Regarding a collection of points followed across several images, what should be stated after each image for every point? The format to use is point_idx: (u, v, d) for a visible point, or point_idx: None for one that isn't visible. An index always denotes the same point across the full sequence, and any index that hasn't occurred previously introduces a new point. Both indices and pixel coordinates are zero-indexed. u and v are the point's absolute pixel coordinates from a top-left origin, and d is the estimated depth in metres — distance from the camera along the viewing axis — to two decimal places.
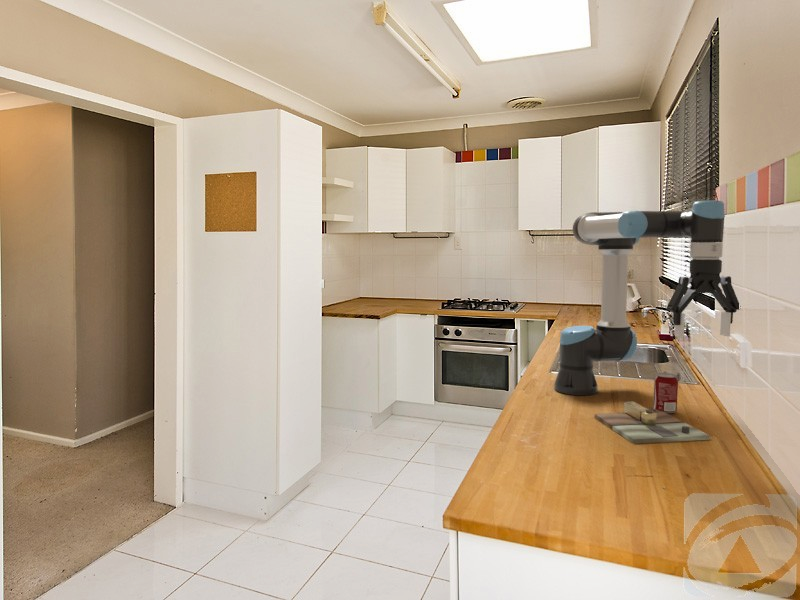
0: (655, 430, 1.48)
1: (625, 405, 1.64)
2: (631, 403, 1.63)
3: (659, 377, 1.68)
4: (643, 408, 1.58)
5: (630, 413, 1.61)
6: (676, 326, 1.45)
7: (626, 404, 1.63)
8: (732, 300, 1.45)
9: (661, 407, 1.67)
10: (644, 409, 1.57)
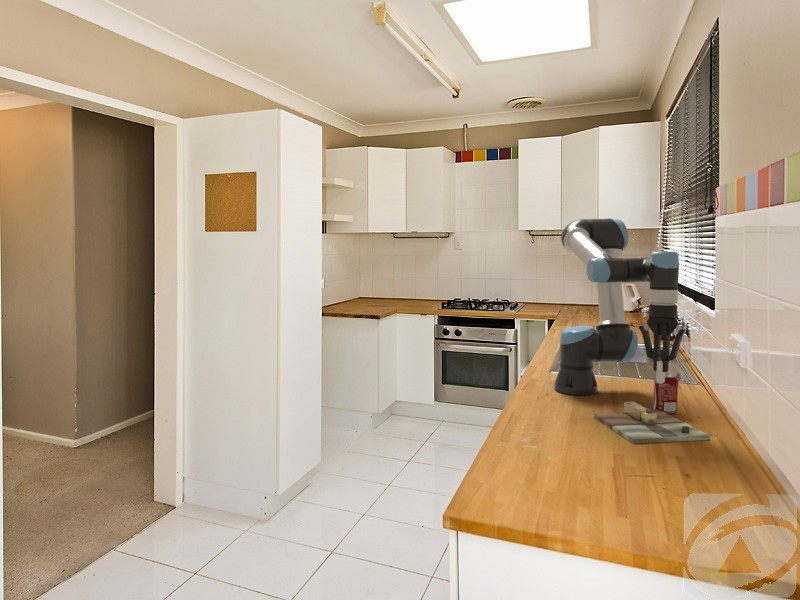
0: (655, 430, 1.48)
1: (625, 405, 1.64)
2: (631, 403, 1.63)
3: None
4: (643, 408, 1.58)
5: (630, 413, 1.61)
6: (662, 374, 1.58)
7: (626, 404, 1.63)
8: (651, 346, 1.61)
9: (661, 407, 1.67)
10: (644, 409, 1.57)
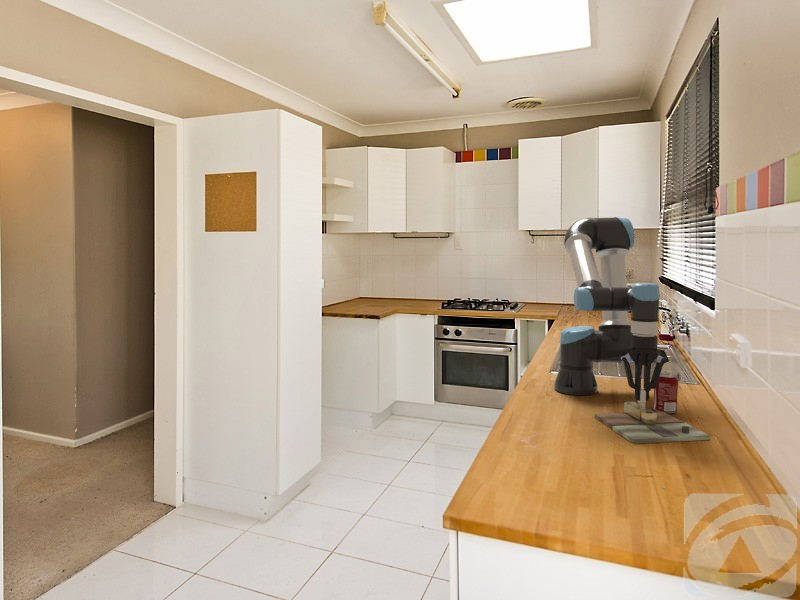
0: (655, 430, 1.48)
1: (625, 405, 1.64)
2: (631, 403, 1.63)
3: (659, 377, 1.68)
4: (643, 408, 1.58)
5: (630, 413, 1.61)
6: None
7: (626, 404, 1.63)
8: None
9: (661, 407, 1.67)
10: (644, 409, 1.57)
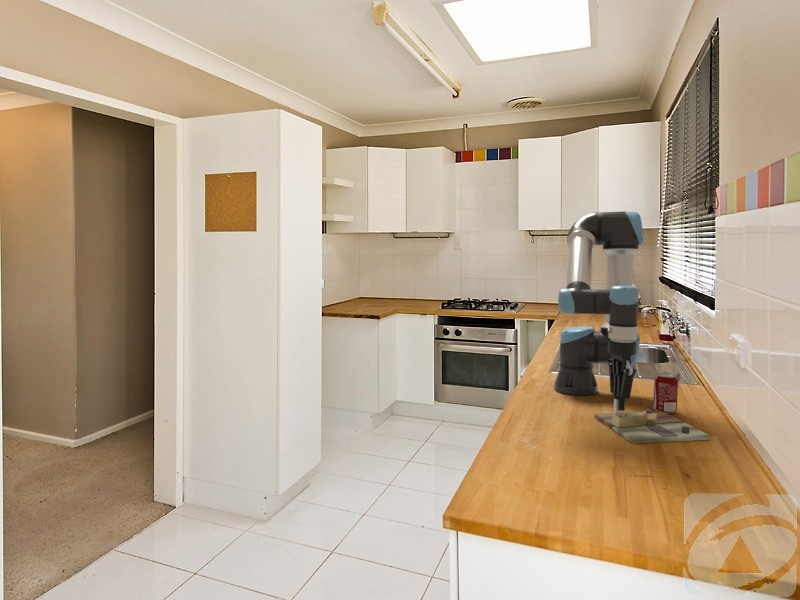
0: (655, 430, 1.48)
1: (621, 419, 1.50)
2: (622, 415, 1.52)
3: (659, 377, 1.68)
4: (636, 413, 1.54)
5: (630, 424, 1.51)
6: None
7: (623, 418, 1.50)
8: None
9: (661, 407, 1.67)
10: (639, 413, 1.54)
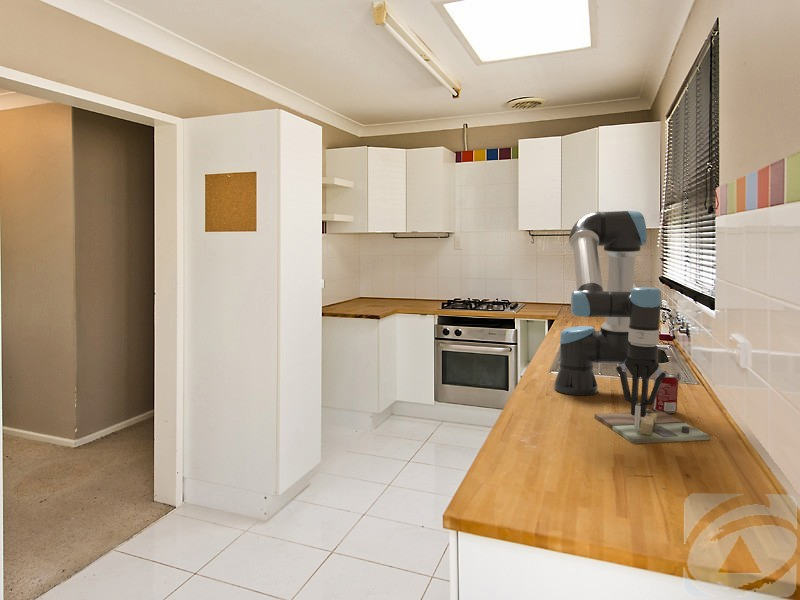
0: (655, 430, 1.48)
1: (652, 426, 1.44)
2: (647, 421, 1.46)
3: None
4: (645, 415, 1.51)
5: None
6: None
7: (652, 424, 1.45)
8: (651, 393, 1.44)
9: (661, 407, 1.67)
10: (647, 415, 1.52)
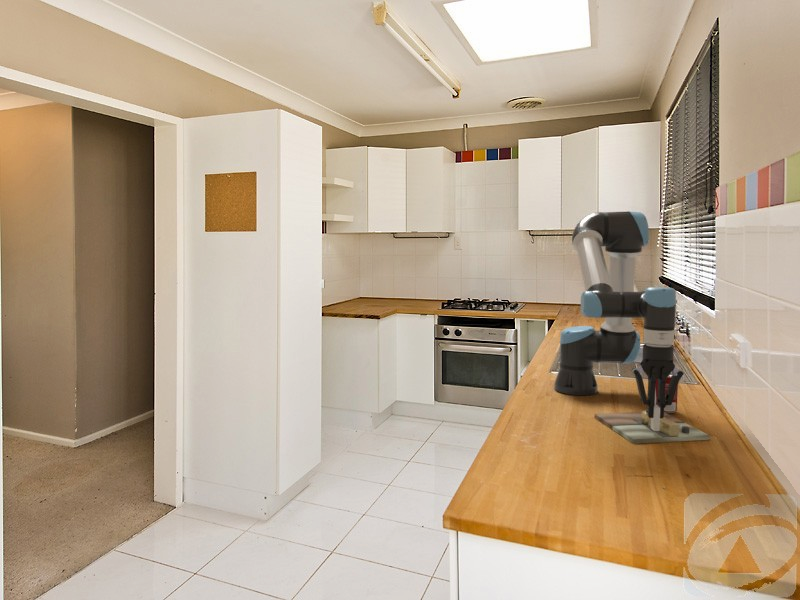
0: None
1: None
2: (670, 422, 1.45)
3: None
4: None
5: None
6: (651, 418, 1.46)
7: None
8: (669, 393, 1.44)
9: None
10: None
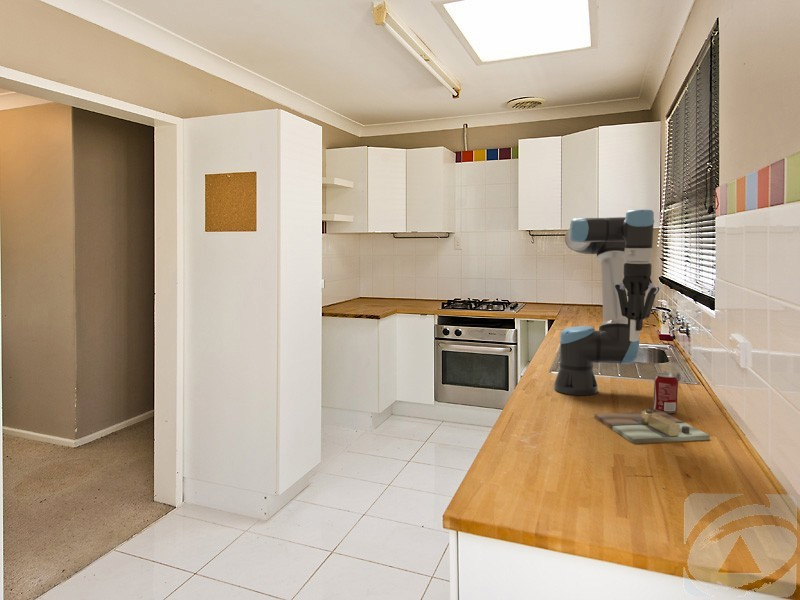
0: (655, 430, 1.48)
1: None
2: (670, 422, 1.45)
3: (659, 377, 1.68)
4: (655, 416, 1.50)
5: None
6: None
7: None
8: None
9: (661, 407, 1.67)
10: (654, 415, 1.51)
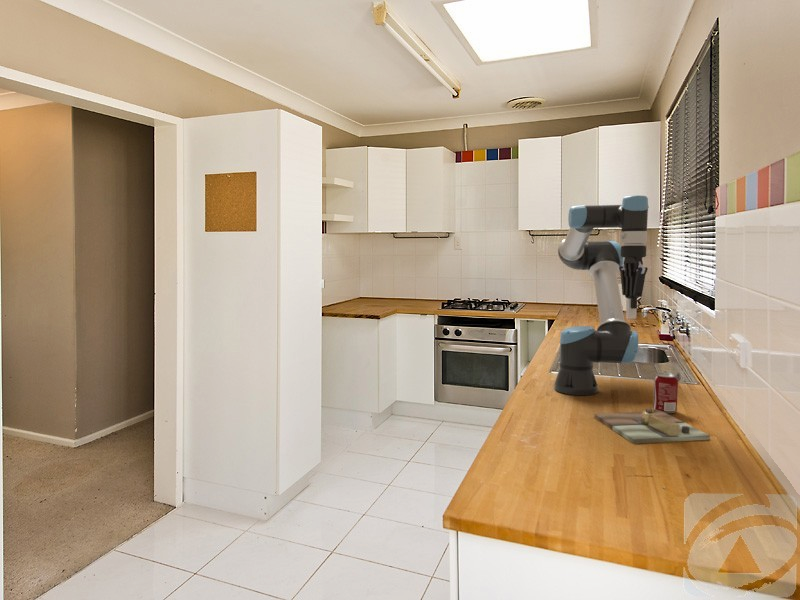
0: (655, 430, 1.48)
1: None
2: (670, 422, 1.45)
3: (659, 377, 1.68)
4: (655, 416, 1.50)
5: None
6: None
7: None
8: None
9: (661, 407, 1.67)
10: (654, 415, 1.51)
